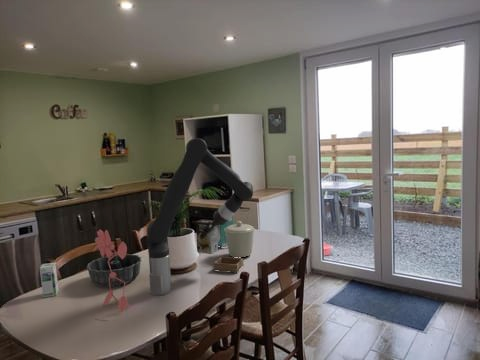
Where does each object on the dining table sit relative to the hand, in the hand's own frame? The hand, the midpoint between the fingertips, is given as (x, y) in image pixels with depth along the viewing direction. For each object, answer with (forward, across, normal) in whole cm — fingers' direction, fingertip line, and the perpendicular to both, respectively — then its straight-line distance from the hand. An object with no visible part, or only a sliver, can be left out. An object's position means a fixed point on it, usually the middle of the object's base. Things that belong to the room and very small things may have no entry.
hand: (204, 235), depth 185 cm
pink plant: (+31, +47, -1) cm, 56 cm away
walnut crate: (+8, -10, +21) cm, 25 cm away
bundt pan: (+45, +18, -14) cm, 50 cm away
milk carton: (+20, -48, +9) cm, 53 cm away
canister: (+9, -32, +20) cm, 39 cm away
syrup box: (+59, +40, -29) cm, 77 cm away
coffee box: (+5, 0, +7) cm, 9 cm away
